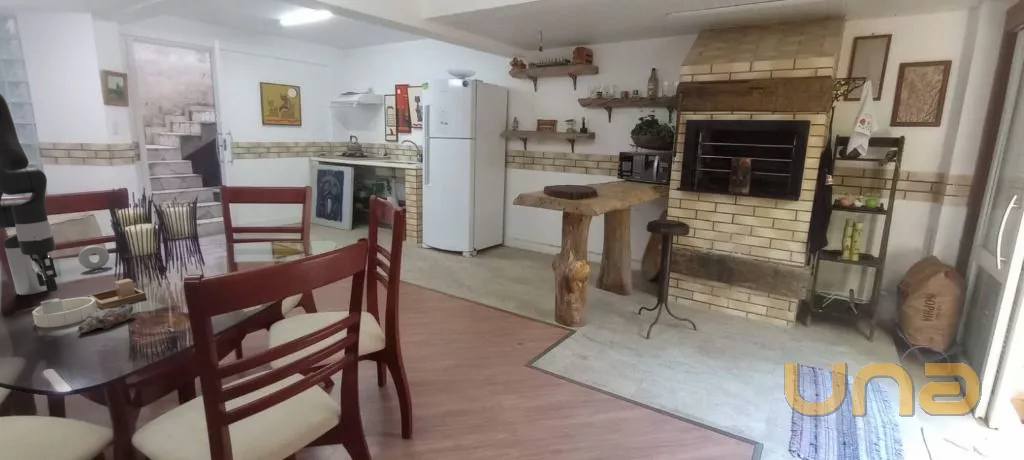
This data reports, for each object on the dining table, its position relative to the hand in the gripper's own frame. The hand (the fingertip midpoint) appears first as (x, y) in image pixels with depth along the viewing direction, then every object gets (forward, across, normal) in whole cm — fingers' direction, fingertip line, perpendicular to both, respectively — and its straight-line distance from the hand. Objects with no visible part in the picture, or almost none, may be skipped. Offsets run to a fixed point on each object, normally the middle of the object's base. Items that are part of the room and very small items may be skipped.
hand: (48, 288), depth 150 cm
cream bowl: (+11, 0, +3) cm, 11 cm away
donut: (+12, -58, +26) cm, 64 cm away
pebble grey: (+10, 0, 0) cm, 10 cm away
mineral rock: (+11, +18, +8) cm, 22 cm away
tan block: (+11, -5, +20) cm, 23 cm away
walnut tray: (+11, -5, +17) cm, 21 cm away
